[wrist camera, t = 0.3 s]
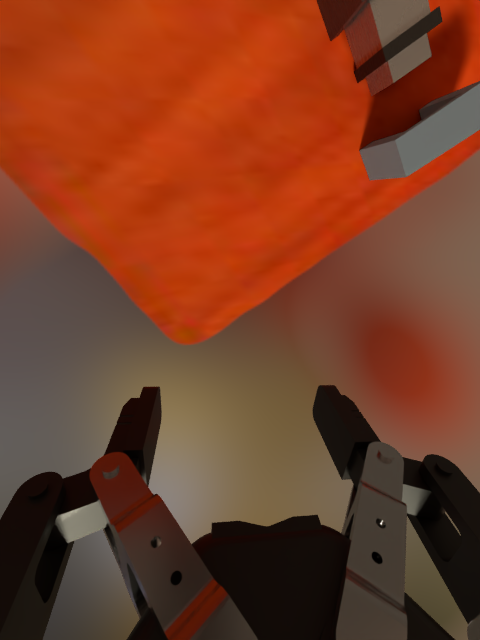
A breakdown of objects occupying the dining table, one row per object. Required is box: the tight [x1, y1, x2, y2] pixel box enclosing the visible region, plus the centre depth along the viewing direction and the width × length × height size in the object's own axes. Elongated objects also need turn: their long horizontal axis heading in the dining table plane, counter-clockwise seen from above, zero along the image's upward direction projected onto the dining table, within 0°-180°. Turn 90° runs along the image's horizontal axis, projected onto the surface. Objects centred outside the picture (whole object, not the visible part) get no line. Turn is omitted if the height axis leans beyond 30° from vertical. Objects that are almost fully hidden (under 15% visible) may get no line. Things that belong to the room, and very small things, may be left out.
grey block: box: [359, 81, 480, 180], centre depth 32 cm, size 4×10×7 cm, turn 122°
